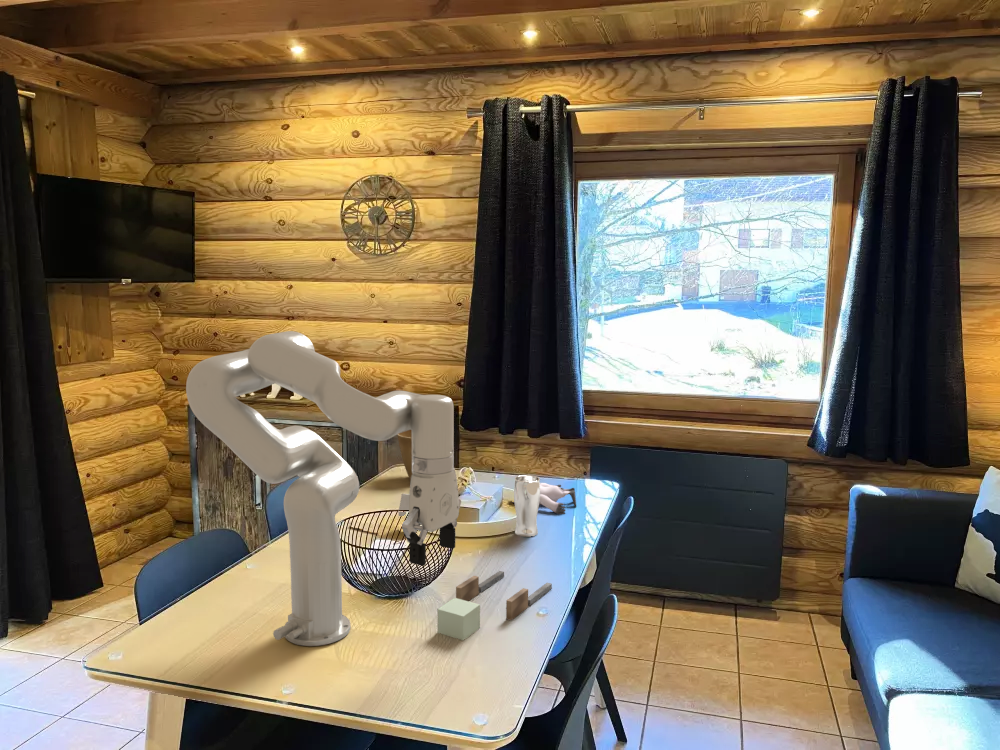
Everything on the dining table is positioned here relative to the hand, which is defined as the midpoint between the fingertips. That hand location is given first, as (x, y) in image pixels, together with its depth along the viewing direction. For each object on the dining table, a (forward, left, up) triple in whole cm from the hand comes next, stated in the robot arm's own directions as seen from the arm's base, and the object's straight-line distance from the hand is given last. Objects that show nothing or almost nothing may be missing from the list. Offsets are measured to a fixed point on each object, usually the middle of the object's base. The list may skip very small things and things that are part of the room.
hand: (432, 555), depth 144 cm
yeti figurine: (+90, +23, -19) cm, 94 cm away
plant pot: (+89, +68, -19) cm, 113 cm away
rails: (+31, 0, -18) cm, 36 cm away
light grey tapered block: (+49, +41, -19) cm, 66 cm away
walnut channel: (+21, 0, -18) cm, 28 cm away
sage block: (+9, 0, -19) cm, 21 cm away
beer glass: (+64, +15, -19) cm, 68 cm away
